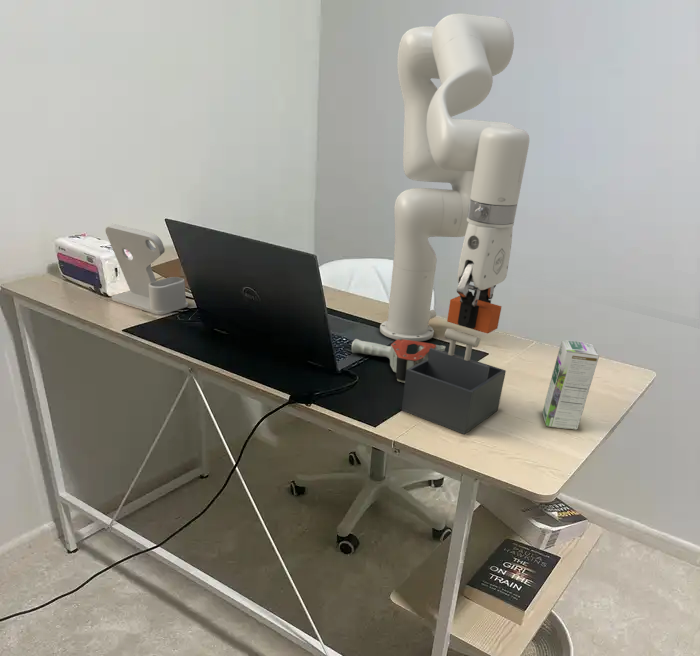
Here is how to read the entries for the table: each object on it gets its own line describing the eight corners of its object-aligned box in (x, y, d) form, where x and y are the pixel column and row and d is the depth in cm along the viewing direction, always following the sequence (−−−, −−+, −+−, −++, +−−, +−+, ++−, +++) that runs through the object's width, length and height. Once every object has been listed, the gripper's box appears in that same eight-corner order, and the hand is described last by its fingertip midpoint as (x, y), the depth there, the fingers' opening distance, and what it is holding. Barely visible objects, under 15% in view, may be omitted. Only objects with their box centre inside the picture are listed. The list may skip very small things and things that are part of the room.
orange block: (457, 316, 119) (460, 295, 117) (497, 328, 115) (501, 306, 113) (446, 321, 116) (450, 299, 114) (487, 333, 112) (491, 311, 110)
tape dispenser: (347, 356, 144) (374, 389, 127) (347, 332, 141) (375, 363, 124) (422, 349, 148) (459, 381, 131) (424, 326, 146) (461, 355, 129)
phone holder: (191, 305, 161) (187, 229, 151) (161, 316, 153) (154, 235, 144) (140, 290, 168) (132, 216, 158) (108, 299, 160) (99, 222, 151)
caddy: (437, 388, 129) (448, 315, 121) (497, 410, 123) (513, 333, 115) (401, 410, 120) (410, 331, 112) (464, 434, 114) (479, 353, 106)
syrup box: (541, 412, 123) (559, 338, 115) (573, 416, 123) (593, 342, 115) (545, 427, 118) (565, 350, 111) (579, 430, 118) (600, 354, 110)
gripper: (489, 224, 98) (468, 341, 108) (534, 211, 110) (512, 318, 119) (445, 215, 102) (429, 329, 111) (493, 204, 113) (475, 307, 123)
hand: (472, 322), depth 115 cm, fingers closed on orange block, 3 cm apart
